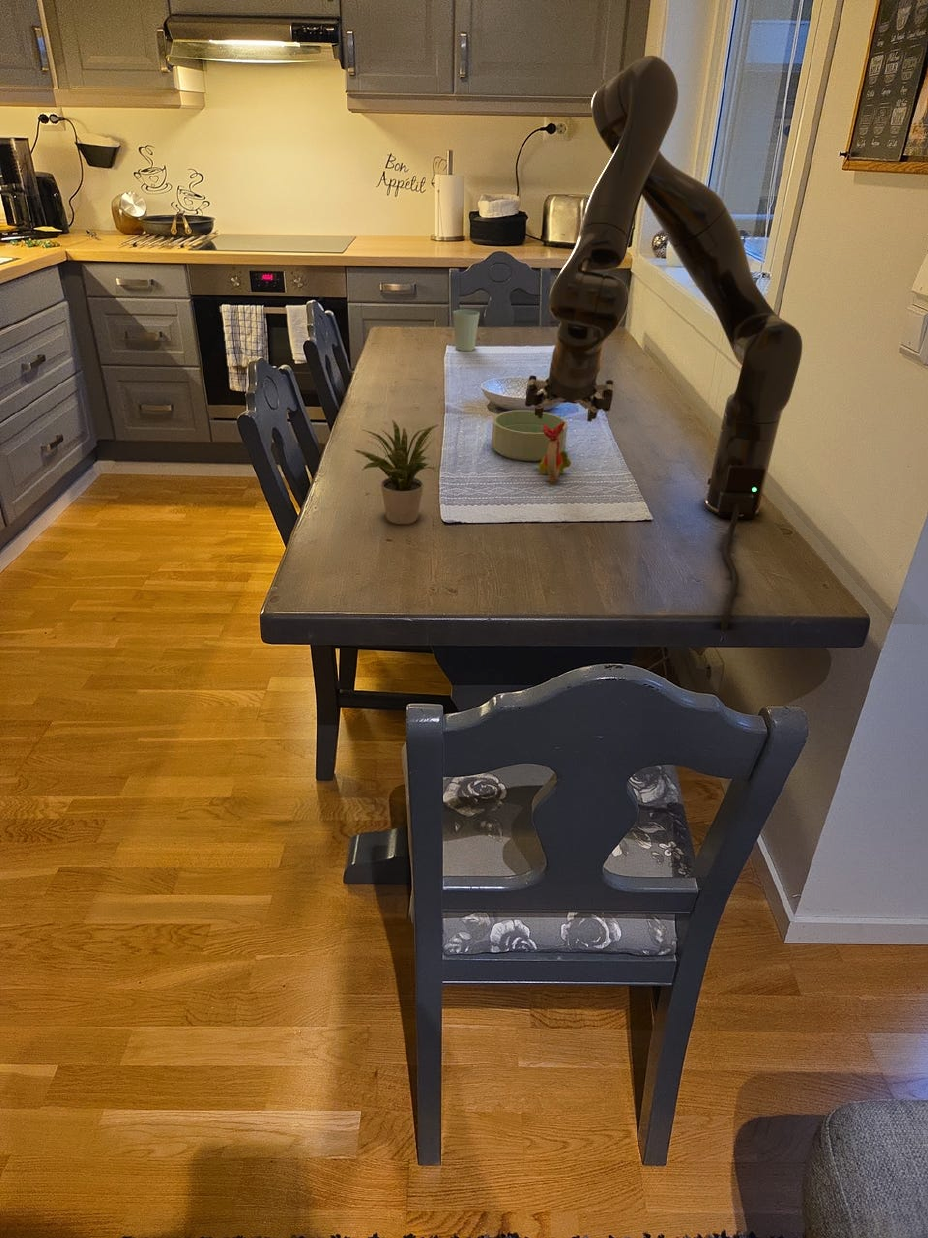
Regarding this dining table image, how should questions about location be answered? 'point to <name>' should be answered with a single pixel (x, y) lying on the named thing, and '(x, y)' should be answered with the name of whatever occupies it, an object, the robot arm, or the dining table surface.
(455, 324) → the cup
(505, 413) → the bowl
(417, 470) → the house plant
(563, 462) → the bird rattle
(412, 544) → the dining table surface
